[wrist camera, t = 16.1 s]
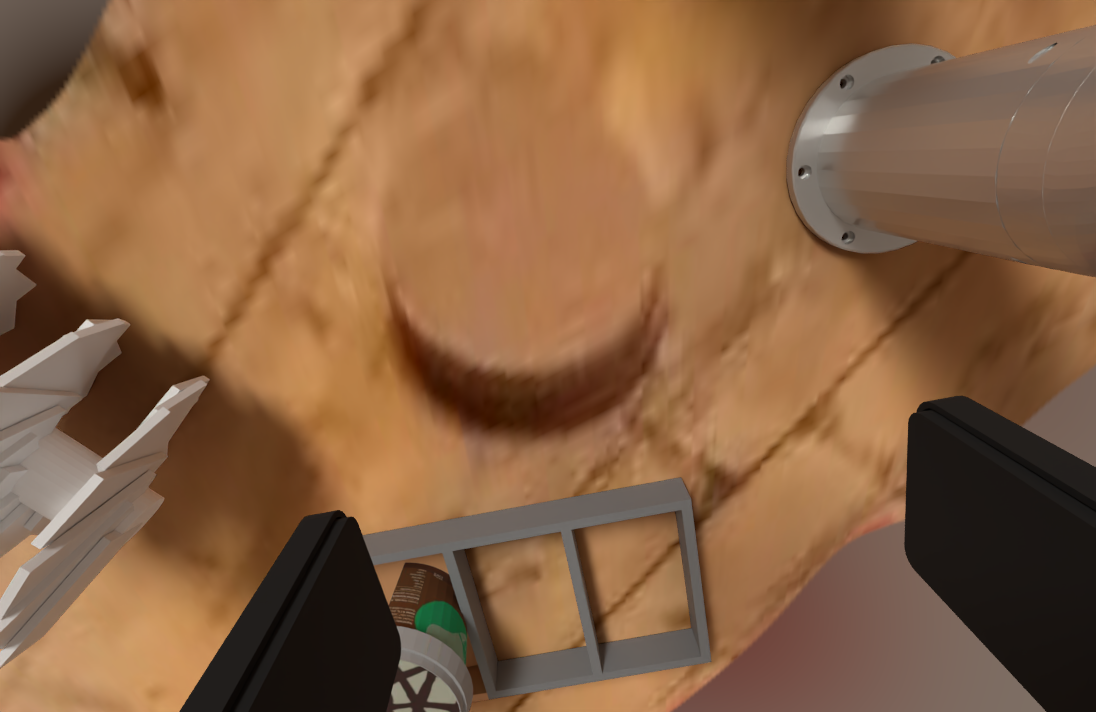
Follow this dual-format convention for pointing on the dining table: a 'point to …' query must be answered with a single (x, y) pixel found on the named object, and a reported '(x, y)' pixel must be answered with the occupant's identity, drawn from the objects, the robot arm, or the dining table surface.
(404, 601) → the food container
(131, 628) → the dining table surface
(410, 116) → the dining table surface
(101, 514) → the spiral staircase
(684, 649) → the rack
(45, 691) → the dining table surface
